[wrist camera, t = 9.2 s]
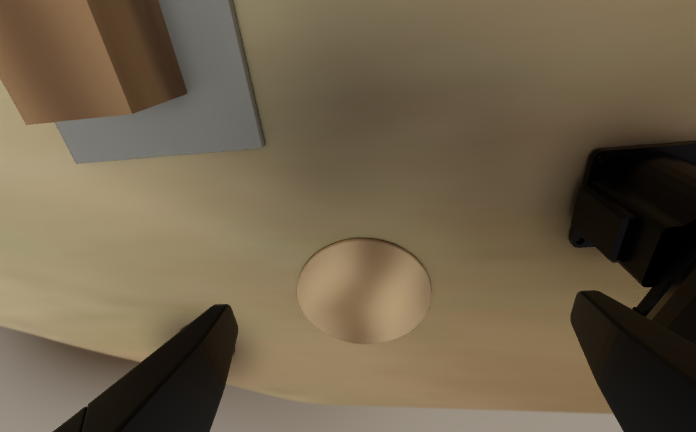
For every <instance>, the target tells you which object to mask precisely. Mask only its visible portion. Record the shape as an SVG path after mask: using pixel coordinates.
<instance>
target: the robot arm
mask: <svg viewBox="0 0 696 432" xmlns="http://www.w3.org/2000/svg"><path fill="white" fill-rule="evenodd" d="M601 155H603V158H602V159H601V160H600V161H598V158H599V157H600V156H601ZM571 223H572V228H571V232H570V236H569V241H570V243H571V244H572V245H573V246H574V247H577V248H582V247H596V248H597V249H598V250H599V251H600V252H601V253H602V254H603V255H605V256H606V257H607V258H608V259H609V260H610V261H611V262H613V263H615V262H618V263H619V264H620V265H621V266H622V267H623V268H624V269H625V270H626V271H627V272H628V273H630V274H631V275H632V276H633V277H634V278H635V279H636V280H637V281H638V282H639V283H640V284H641V285H642V286H643V287H652V288H651V289H650V291H649V292H648V293H647V295H646V296H645V297H644V298H643V300H642V301H641V302H640V303H639V305H638V306H637V307H633V308H632V309H630V308H628V307H627V306H625V305H623V304H621V303H619V302H618V301H616V300H614V299H612V298H610V297H609V296H607V295H605V294H603V293H601V292H599V291H595V290H592V291H580V292H578V293H577V295H576V298H575V301H574V305H573V308H572V312H571V324H572V326H573V329H574V331H575V333H576V336H577V338H578V340H579V343H580V345H581V348H582V350H583V352H584V355H585V357H586V359H587V362H588V364H589V366H590V369H591V371H592V373H593V375H594V378H595V380H596V382H597V384H598V386H599V388H600V390H601V392H602V394H603V395H604V397H605V399H606V401H607V403H608V404H609V406H610V408H611V410H612V412H613V413H614V415H615V417H616V419H617V420H618V422H619V424H620V426H621V427H622V430H623V431H624V432H696V141H692V142H679V143H666V144H653V145H639V146H626V147H613V148H600V149H597V150H595V151H593V152H592V153H591V154H590V157H589V160H588V164H587V168H586V172H585V176H584V180H583V184H582V186H581V187H580V189H579V193H578V197H577V201H576V205H575V209H574V213H573V217H572V221H571ZM579 238H581V239H580V240H579V241H577V239H579ZM237 335H238V325H237V322H236V319H235V317H234V314H233V311H232V308H231V306H230V305H228V304H216V305H213V306H212V307H210V308H209V309H208V310H207V311H205V312H204V313H203V314H201V315H200V316H199V317H198V318H196V319H195V320H194V321H193V322H191V323H190V324H189V325H188V326H186V327H185V328H184V329H183V330H181V331H180V332H179V333H177V334H176V335H175V336H174V337H172V338H171V339H170V340H169V341H167V342H166V343H165V344H164V345H162V346H161V347H160V348H159V349H157V350H156V351H155V352H153V353H152V354H151V355H150V356H148V357H147V358H146V359H145V360H143V361H142V362H141V363H140V364H139V365H137V366H136V367H135V368H133V369H132V370H131V371H129V372H128V373H127V374H126V375H124V376H123V377H122V378H121V379H119V380H118V381H117V382H116V383H115V384H113V385H112V386H110V387H109V388H108V389H107V390H106V391H104V392H103V393H102V394H101V395H99V396H98V397H97V398H95V399H94V400H93V401H92V402H90V403H89V404H88V406H87V407H84V408H83V409H81V410H80V411H79V412H78V413H76V414H75V415H74V416H72V418H70V419H69V420H67V421H66V422H65V423H63V424H62V425H61V426H60V427H58V428H57V429H56V430H54V431H53V432H210V429H211V426H212V423H213V420H214V418H215V415H216V412H217V409H218V406H219V403H220V400H221V398H222V394H223V391H224V388H225V385H226V381H227V377H228V373H229V368H230V364H231V360H232V356H233V352H234V347H235V343H236V339H237Z"/></svg>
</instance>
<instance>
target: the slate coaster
mask: <svg viewBox="0 0 696 432" xmlns="http://www.w3.org/2000/svg"><path fill="white" fill-rule="evenodd" d="M158 1H159V4H160V7H161V11H162V14H163V17H164V20H165V23H166V26H167V30H168V33H169V36H170V39H171V42H172V45H173V49H174V52H175V55H176V58H177V61H178V64H179V68H180V71H181V74H182V77H183V80H184V83H185V86H186V90H187V93H188V94H186V95H183V96H180V97H177V98H175V99H172V100H169V101H167V102H164V103H161V104H158V105H156V106H153V107H150V108H147V109H145V110H142V111H139V112H137V113H134V114H128V115H118V116H109V117H99V118H89V119H79V120H69V121H59V122H55V124H56V126H57V128H58V130H59V132H60V134H61V136H62V138H63V140H64V141H65V143H66V145H67V147H68V149H69V151H70V153H71V155H72V157H73V159H74V161H75V163H76V164H79V163H91V162H103V161H115V160H127V159H139V158H151V157H163V156H175V155H187V154H199V153H211V152H223V151H235V150H247V149H259V148H263V147H264V146H265V143H264V139H263V134H262V130H261V125H260V121H259V116H258V112H257V108H256V103H255V99H254V94H253V90H252V85H251V81H250V76H249V72H248V68H247V63H246V59H245V54H244V50H243V45H242V41H241V36H240V32H239V28H238V23H237V19H236V14H235V10H234V5H233V1H232V0H158Z"/></svg>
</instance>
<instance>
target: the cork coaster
mask: <svg viewBox="0 0 696 432" xmlns="http://www.w3.org/2000/svg"><path fill="white" fill-rule="evenodd" d="M297 297H298V302H299V305H300V307H301V309H302V311H303V313H304V315H305V316H306V318H307V319H308V320H309V321H310V322H311V323H312V324H313V325H314V326H315V327H316V328H318V329H319V330H321V331H322V332H324V333H325V334H327V335H329V336H331V337H334V338H336V339H339V340H342V341H346V342H351V343H358V344H375V343H382V342H387V341H390V340H394V339H396V338H399V337H401V336H403V335H405V334H407V333H408V332H410V331H411V330H413V329H414V328H415V327H416V326H417V325H418V324H419V323H420V322H421V321H422V320H423V318H424V317H425V315H426V314H427V312H428V310H429V307H430V303H431V297H432V292H431V285H430V281H429V277H428V275H427V273H426V270H425V269H424V267H423V266H422V264H421V263H420V262H419V261H418V260H417V259H416V258H415V257H414V256H413V255H412V254H411V253H409V252H408V251H406V250H405V249H403V248H401V247H399V246H397V245H395V244H392V243H389V242H386V241H382V240H378V239H369V238H356V239H348V240H343V241H339V242H336V243H333V244H331V245H329V246H327V247H325V248H323V249H321V250H320V251H318V252H317V253H316V254H315V255H313V256H312V257H311V258H310V259H309V261H308V262H307V263H306V264H305V266H304V268H303V269H302V272H301V274H300V277H299V280H298V285H297Z"/></svg>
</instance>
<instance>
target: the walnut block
mask: <svg viewBox="0 0 696 432" xmlns="http://www.w3.org/2000/svg"><path fill="white" fill-rule="evenodd" d="M0 79H1V80H2V82H3V84H4V86H5V88H6V89H7V91H8V93H9V95H10V97H11V98H12V100H13V102H14V104H15V106H16V107H17V109H18V111H19V113H20V115H21V116H22V118H23V120H24V122H25V124H26V125H30V124H40V123H50V122H59V121H69V120H79V119H89V118H99V117H109V116H118V115H128V114H134V113H137V112H139V111H142V110H145V109H147V108H150V107H153V106H156V105H158V104H161V103H164V102H167V101H169V100H172V99H175V98H177V97H180V96H183V95H186V94H188V93H187V90H186V86H185V83H184V80H183V77H182V74H181V71H180V68H179V64H178V61H177V58H176V55H175V52H174V49H173V45H172V42H171V39H170V36H169V33H168V30H167V26H166V23H165V20H164V17H163V14H162V11H161V7H160V4H159V1H158V0H0Z"/></svg>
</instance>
